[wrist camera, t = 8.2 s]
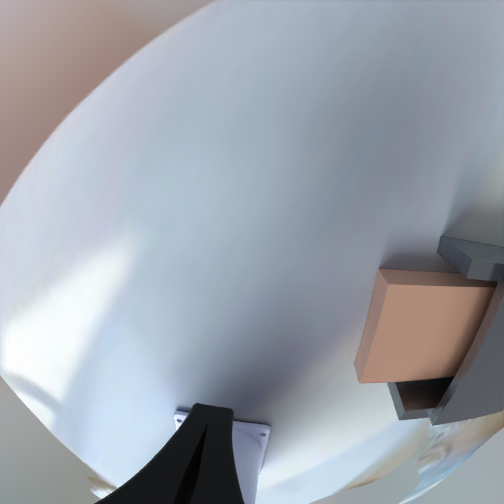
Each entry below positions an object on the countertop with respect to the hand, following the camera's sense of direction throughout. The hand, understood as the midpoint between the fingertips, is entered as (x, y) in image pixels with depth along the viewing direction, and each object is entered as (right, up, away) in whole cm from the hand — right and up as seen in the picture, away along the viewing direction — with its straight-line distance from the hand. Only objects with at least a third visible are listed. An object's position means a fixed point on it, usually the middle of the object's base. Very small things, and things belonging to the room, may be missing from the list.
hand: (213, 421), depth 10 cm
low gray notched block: (+17, +1, +7) cm, 18 cm away
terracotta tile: (+14, +2, +7) cm, 16 cm away
